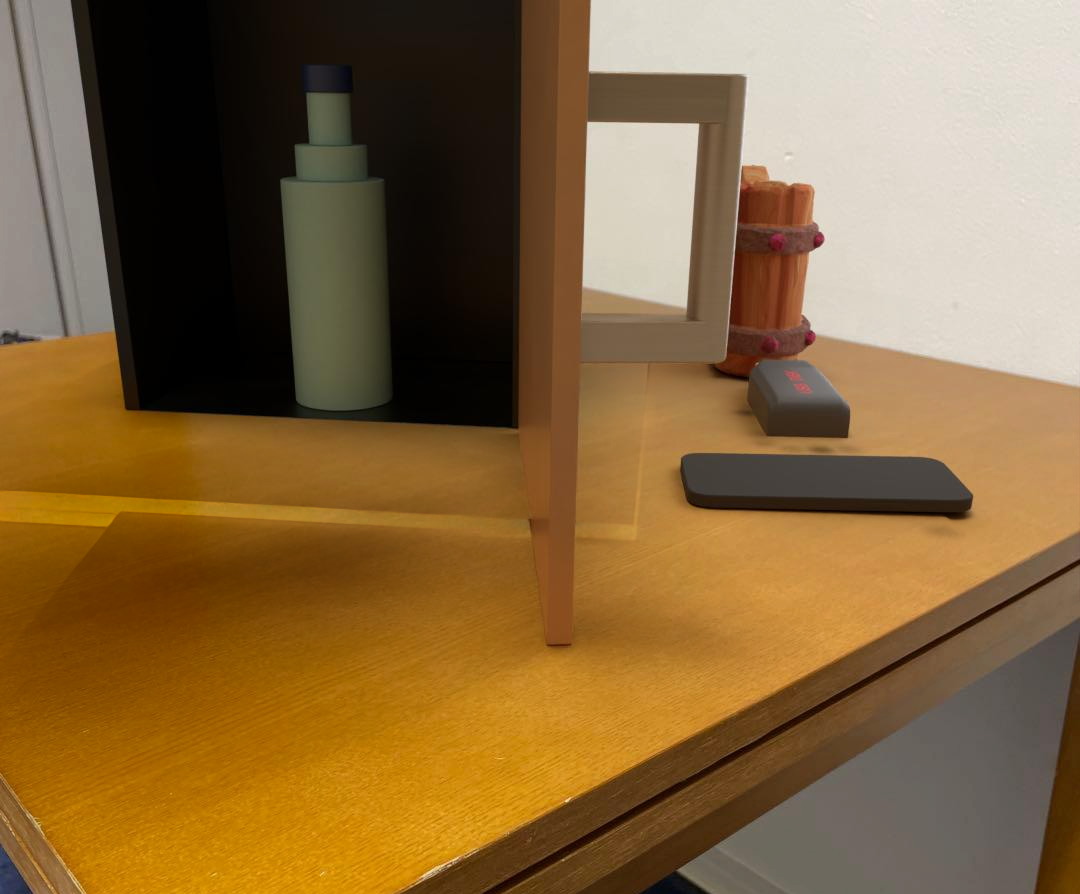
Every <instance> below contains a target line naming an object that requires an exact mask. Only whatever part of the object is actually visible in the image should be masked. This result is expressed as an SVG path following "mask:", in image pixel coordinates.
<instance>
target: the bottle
mask: <svg viewBox="0 0 1080 894" xmlns="http://www.w3.org/2000/svg"><path fill="white" fill-rule="evenodd" d="M301 71H302V87H303V92H306V97H307V113H308V129H309V143H307V144H296V145H295V160H296V175H297V176H295V177H286V178H282V179H281V180H280V183H281V197H282V211H283V225H284V239H285V253H286V267H287V281H288V294H289V308H290V322H291V336H292V350H293V364H294V378H295V392H296V400H297V402H298V403H299V404H301V405H303V406H305V407H308V408H313V409H318V410H328V411H352V410H362V409H368V408H373V407H377V406H380V405H383V404H386V403H388V402H389V401H390V400H391V399H392V398H393V387H392V360H391V333H390V306H389V279H388V252H387V225H386V199H385V180H384V179H382V178H377V177H369V176H368V153H367V145H363V144H352V126H351V105H350V93H352V92H353V76H352V66H350V65H301Z"/></svg>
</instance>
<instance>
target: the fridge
mask: <svg viewBox="0 0 1080 894" xmlns="http://www.w3.org/2000/svg"><path fill="white" fill-rule="evenodd" d="M70 6H71V15H72V20H73V21H72V23H73V27H74V28H73V29H74V35H75V43H76V51H77V58H78V66H79V73H80V81H81V89H82V96H83V104H84V111H85V119H86V126H87V133H88V140H89V141H88V142H89V148H90V155H91V161H92V162H91V163H92V170H93V178H94V186H95V192H96V193H95V194H96V200H97V201H96V202H97V207H98V216H99V222H100V231H101V238H102V245H103V253H104V259H105V267H106V275H107V282H108V290H109V297H110V304H111V312H112V320H113V326H114V327H113V328H114V335H115V341H116V348H117V358H118V365H119V371H120V372H119V373H120V380H121V386H122V387H121V389H122V394H123V402H124V408H125V410H126V411H134V412H156V413H177V414H199V415H218V416H239V417H240V416H241V417H260V418H261V417H262V418H281V419H282V418H283V419H300V420H301V419H302V420H303V419H304V420H322V421H323V420H324V421H343V422H344V421H345V422H346V421H347V422H362V423H363V422H364V423H365V422H366V423H368V422H369V423H383V424H384V423H385V424H387V423H388V424H405V425H406V424H408V425H426V426H427V425H429V426H449V427H450V426H451V427H471V428H490V429H491V428H492V429H512V430H513V429H514V430H518V417H519V292H520V167H521V41H522V0H70ZM301 65H350V66H352V76H353V92H352V93H350V105H351V126H352V144H363V145H367V153H368V176H369V177H377V178H382V179H384V180H385V199H386V225H387V252H388V279H389V306H390V333H391V360H392V387H393V398H392V399H391V400H390V401H389V402H388V403H386V404H383V405H380V406H377V407H373V408H368V409H362V410H352V411H328V410H318V409H313V408H308V407H305V406H303V405H301V404H299V403H298V402H297V400H296V392H295V378H294V364H293V350H292V336H291V322H290V308H289V294H288V281H287V267H286V253H285V239H284V225H283V211H282V197H281V183H280V180H281V179H282V178H286V177H295V176H297V175H296V160H295V145H296V144H307V143H309V129H308V113H307V97H306V92H303V87H302V71H301Z"/></svg>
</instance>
